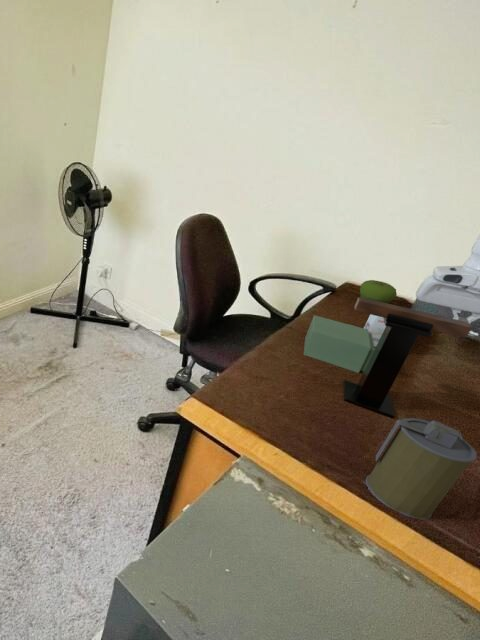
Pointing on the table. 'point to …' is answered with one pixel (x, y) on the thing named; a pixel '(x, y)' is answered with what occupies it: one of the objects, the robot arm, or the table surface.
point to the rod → (414, 316)
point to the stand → (385, 365)
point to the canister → (419, 466)
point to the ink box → (375, 327)
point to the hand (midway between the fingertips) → (459, 324)
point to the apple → (377, 291)
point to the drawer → (368, 353)
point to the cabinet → (337, 343)
